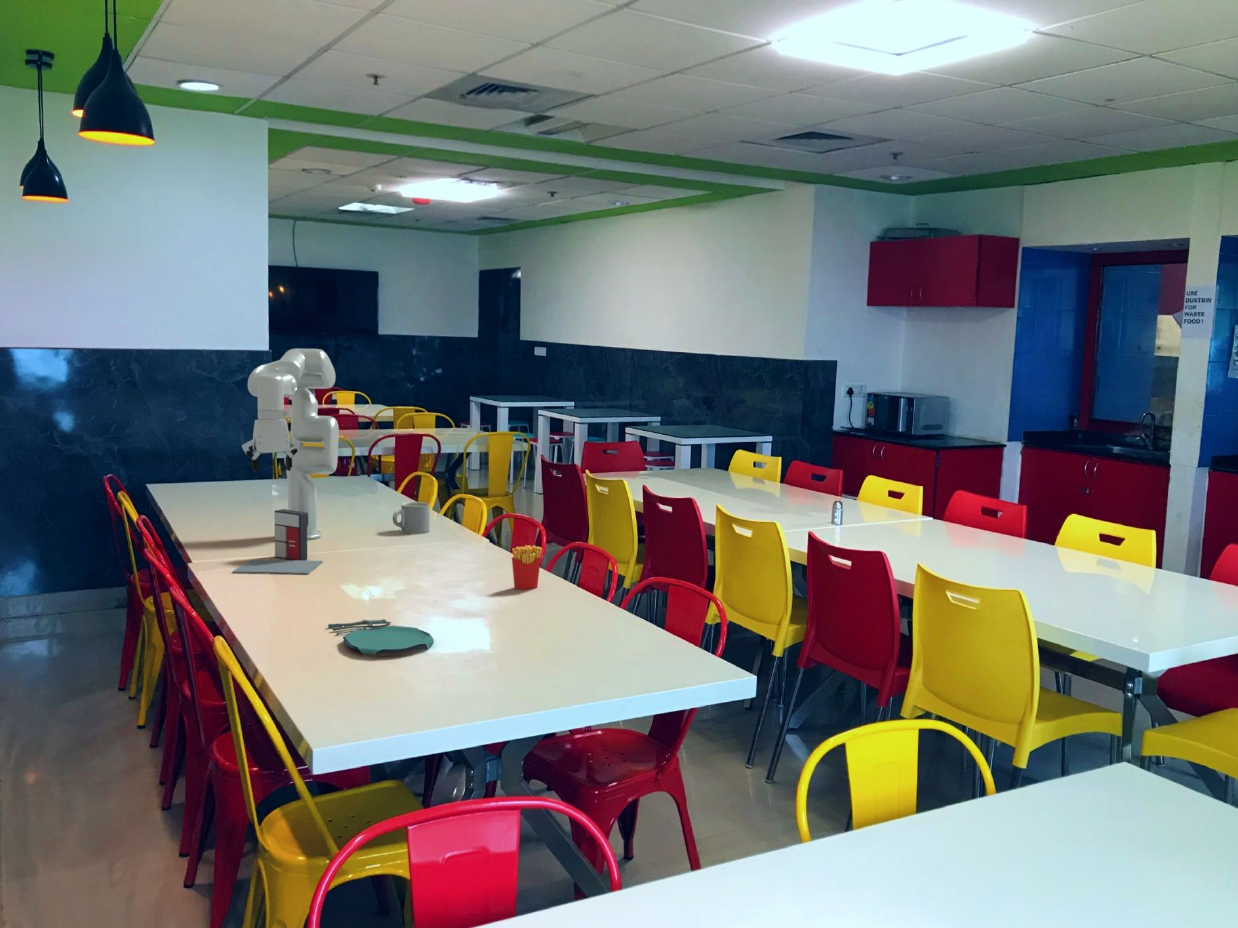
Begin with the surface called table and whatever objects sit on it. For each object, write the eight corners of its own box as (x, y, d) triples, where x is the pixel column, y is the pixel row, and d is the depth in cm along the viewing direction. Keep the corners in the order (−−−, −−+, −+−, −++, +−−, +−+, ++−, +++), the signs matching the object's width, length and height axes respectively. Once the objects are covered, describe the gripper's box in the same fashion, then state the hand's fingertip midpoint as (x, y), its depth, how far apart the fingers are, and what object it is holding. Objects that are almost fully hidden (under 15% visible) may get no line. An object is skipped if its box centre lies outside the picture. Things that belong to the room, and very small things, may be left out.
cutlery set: (360, 663, 220) (360, 653, 219) (319, 630, 245) (319, 621, 244) (445, 651, 231) (445, 641, 230) (397, 621, 256) (397, 612, 255)
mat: (251, 560, 313) (250, 559, 313) (322, 562, 313) (322, 560, 313) (232, 573, 297) (232, 571, 297) (308, 574, 298) (308, 572, 298)
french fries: (513, 590, 286) (514, 548, 284) (510, 586, 289) (510, 545, 288) (542, 588, 289) (543, 547, 287) (538, 584, 292) (539, 544, 291)
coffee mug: (426, 528, 372) (426, 501, 371) (432, 533, 363) (432, 505, 362) (389, 530, 367) (389, 502, 366) (394, 535, 358) (394, 507, 357)
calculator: (273, 557, 318) (272, 510, 316) (283, 555, 322) (282, 508, 320) (298, 562, 313) (298, 514, 311) (309, 559, 317) (308, 512, 315)
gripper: (296, 413, 315) (297, 467, 318) (238, 415, 306) (239, 471, 308) (303, 415, 309) (304, 471, 311) (244, 417, 299) (246, 474, 302)
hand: (272, 471), depth 310 cm, fingers open, 9 cm apart
